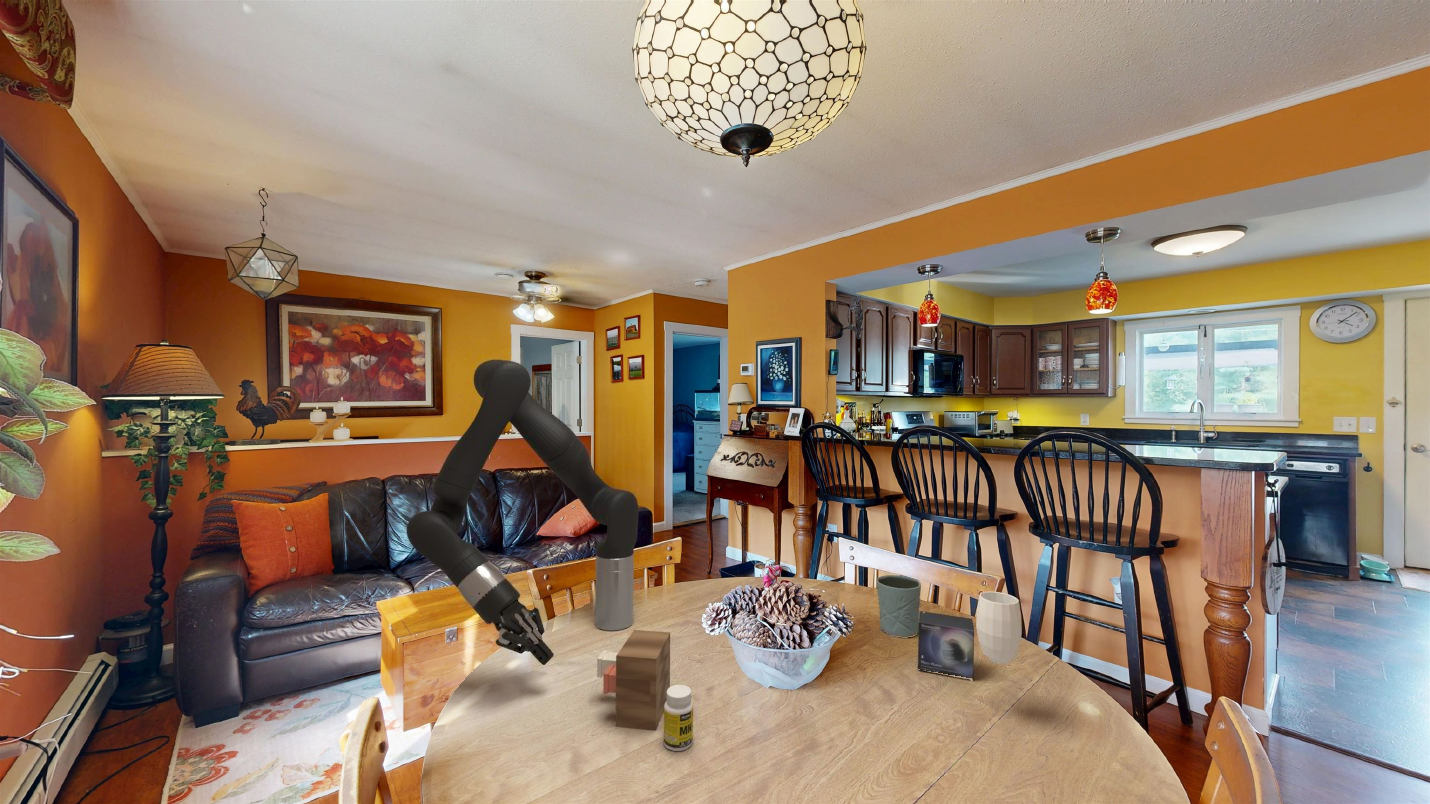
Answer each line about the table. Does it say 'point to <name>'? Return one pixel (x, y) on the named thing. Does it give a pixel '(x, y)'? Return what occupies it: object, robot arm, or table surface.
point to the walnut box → (642, 679)
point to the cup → (999, 626)
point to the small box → (946, 644)
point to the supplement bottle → (678, 718)
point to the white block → (605, 662)
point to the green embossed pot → (899, 604)
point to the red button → (609, 680)
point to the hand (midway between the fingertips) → (549, 660)
